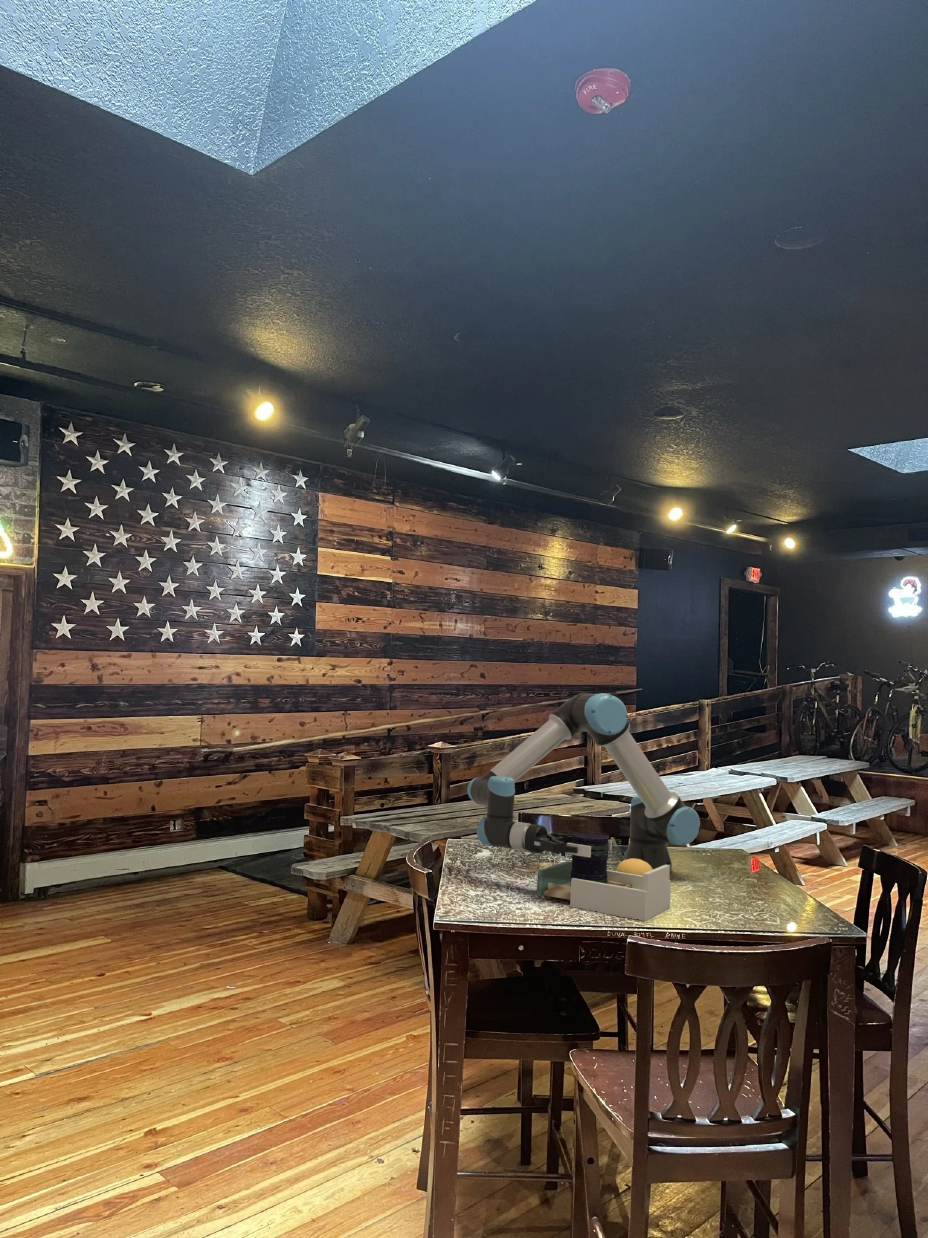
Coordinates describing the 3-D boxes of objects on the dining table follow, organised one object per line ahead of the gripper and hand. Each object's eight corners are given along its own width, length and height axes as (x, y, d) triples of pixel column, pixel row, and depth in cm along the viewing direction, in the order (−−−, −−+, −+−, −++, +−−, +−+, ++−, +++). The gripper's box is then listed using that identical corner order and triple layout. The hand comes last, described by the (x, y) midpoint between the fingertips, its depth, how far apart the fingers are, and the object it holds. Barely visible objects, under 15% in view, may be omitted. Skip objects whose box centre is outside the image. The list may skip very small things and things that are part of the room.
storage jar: (612, 897, 225) (614, 839, 227) (575, 897, 224) (578, 838, 225) (600, 888, 235) (602, 832, 236) (564, 888, 233) (567, 831, 235)
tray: (536, 895, 227) (537, 870, 228) (567, 884, 242) (568, 861, 243) (607, 908, 217) (608, 882, 217) (634, 896, 232) (635, 872, 232)
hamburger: (621, 895, 238) (622, 863, 239) (606, 885, 250) (608, 855, 251) (662, 896, 240) (663, 864, 241) (646, 886, 252) (647, 855, 253)
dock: (570, 906, 222) (571, 862, 223) (598, 895, 237) (600, 853, 238) (644, 921, 211) (646, 875, 212) (670, 908, 226) (671, 864, 227)
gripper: (549, 846, 250) (618, 857, 239) (506, 857, 229) (580, 870, 218) (550, 819, 251) (619, 829, 239) (507, 828, 230) (581, 839, 218)
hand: (601, 848), depth 229 cm, fingers open, 13 cm apart
